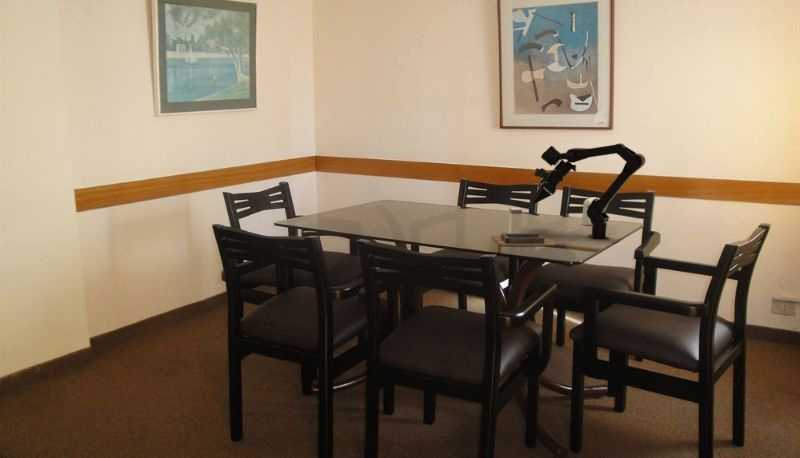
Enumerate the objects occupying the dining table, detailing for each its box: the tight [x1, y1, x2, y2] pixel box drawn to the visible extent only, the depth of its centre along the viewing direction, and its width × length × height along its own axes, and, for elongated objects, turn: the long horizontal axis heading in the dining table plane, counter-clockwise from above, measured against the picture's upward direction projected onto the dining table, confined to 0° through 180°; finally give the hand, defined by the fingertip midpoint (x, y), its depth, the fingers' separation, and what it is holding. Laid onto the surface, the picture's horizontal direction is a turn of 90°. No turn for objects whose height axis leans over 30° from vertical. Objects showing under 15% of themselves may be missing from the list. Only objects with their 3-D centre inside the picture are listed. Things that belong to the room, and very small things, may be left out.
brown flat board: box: [491, 233, 557, 247], centre depth 282 cm, size 16×22×2 cm
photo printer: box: [581, 196, 601, 226], centre depth 322 cm, size 10×4×12 cm, turn 123°
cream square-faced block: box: [508, 207, 523, 234], centre depth 295 cm, size 5×4×11 cm
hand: (534, 201), depth 300 cm, fingers open, 9 cm apart
